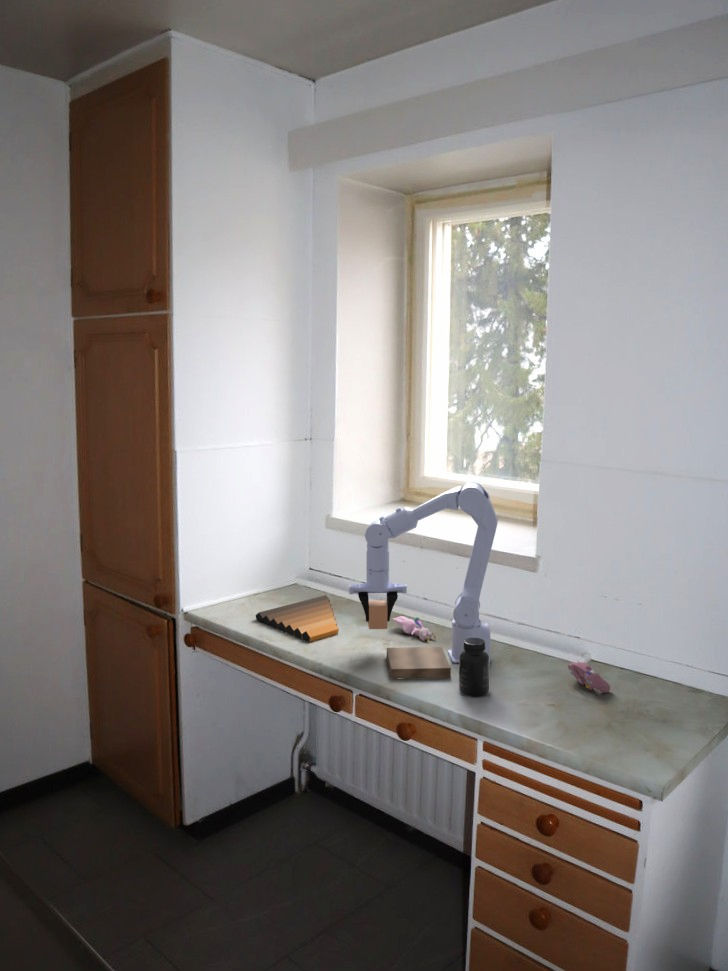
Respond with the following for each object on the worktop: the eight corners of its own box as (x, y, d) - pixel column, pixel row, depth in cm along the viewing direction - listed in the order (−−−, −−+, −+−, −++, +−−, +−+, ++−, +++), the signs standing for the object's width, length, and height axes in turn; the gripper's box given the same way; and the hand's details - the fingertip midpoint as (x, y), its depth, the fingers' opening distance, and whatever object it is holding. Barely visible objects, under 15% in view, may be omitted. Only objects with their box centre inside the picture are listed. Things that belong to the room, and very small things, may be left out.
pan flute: (322, 604, 250) (255, 622, 233) (322, 593, 249) (255, 610, 232) (378, 624, 231) (310, 644, 215) (378, 612, 231) (310, 632, 214)
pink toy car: (571, 685, 191) (561, 662, 189) (586, 675, 192) (576, 651, 190) (598, 702, 182) (587, 677, 180) (613, 690, 183) (603, 666, 181)
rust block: (385, 622, 210) (385, 600, 209) (387, 628, 205) (387, 606, 204) (368, 623, 209) (368, 600, 208) (369, 629, 205) (369, 606, 204)
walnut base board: (441, 656, 205) (441, 646, 205) (450, 678, 191) (450, 667, 191) (386, 657, 204) (386, 647, 204) (391, 679, 191) (391, 669, 190)
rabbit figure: (439, 643, 218) (401, 621, 229) (442, 623, 217) (404, 602, 227) (422, 649, 214) (385, 626, 225) (425, 628, 213) (387, 606, 223)
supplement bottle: (479, 683, 188) (481, 634, 186) (494, 695, 182) (496, 644, 180) (453, 688, 186) (454, 637, 184) (467, 699, 179) (468, 648, 177)
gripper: (404, 564, 209) (404, 614, 211) (348, 565, 208) (348, 615, 210) (407, 571, 202) (407, 623, 204) (349, 572, 201) (349, 624, 203)
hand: (377, 620), depth 207 cm, fingers closed on rust block, 5 cm apart
